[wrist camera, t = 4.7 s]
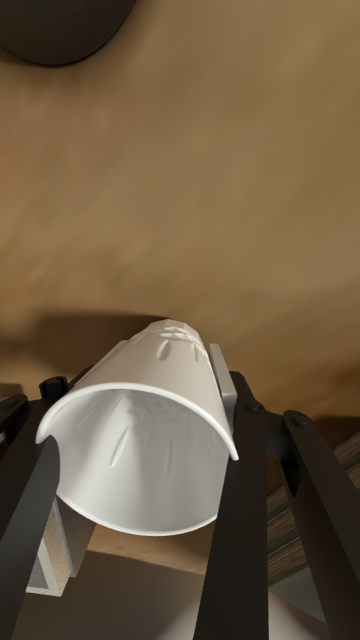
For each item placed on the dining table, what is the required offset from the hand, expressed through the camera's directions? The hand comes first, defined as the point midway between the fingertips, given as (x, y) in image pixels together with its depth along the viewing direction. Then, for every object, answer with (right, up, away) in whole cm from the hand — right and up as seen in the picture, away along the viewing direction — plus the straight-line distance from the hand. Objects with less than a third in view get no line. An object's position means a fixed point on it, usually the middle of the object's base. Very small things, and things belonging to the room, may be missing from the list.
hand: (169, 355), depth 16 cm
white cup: (0, 0, +1) cm, 1 cm away
